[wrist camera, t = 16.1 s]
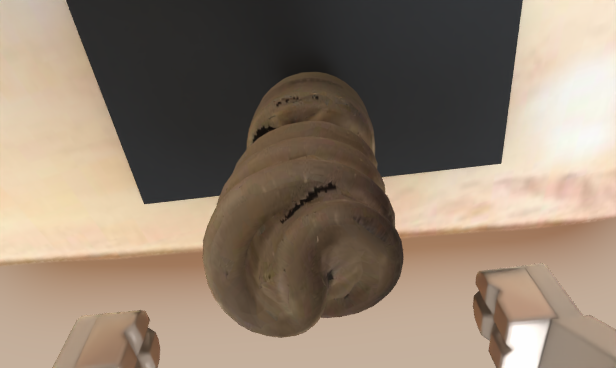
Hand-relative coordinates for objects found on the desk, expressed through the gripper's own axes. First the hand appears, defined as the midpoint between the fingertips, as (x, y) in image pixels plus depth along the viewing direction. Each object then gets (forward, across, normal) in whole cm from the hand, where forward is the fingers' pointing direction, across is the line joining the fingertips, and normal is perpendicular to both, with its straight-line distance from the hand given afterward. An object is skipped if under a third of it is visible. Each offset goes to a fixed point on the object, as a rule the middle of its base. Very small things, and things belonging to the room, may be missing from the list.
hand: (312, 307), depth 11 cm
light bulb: (+15, 0, 0) cm, 15 cm away
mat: (+16, 0, 0) cm, 16 cm away
